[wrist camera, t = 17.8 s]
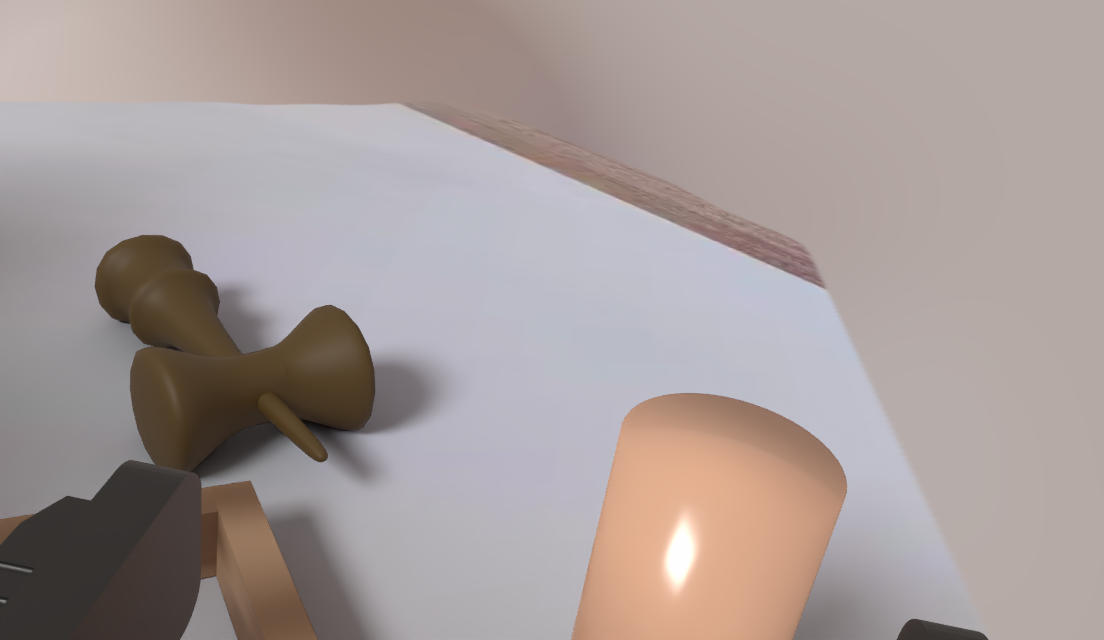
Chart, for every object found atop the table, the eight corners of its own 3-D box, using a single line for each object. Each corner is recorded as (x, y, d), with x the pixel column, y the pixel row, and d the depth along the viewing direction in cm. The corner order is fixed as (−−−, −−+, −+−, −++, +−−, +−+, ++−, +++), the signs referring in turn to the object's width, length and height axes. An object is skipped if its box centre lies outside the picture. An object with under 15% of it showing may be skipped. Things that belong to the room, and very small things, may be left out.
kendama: (227, 307, 57) (419, 484, 44) (49, 342, 51) (210, 558, 38) (226, 211, 54) (429, 368, 41) (38, 234, 48) (208, 428, 35)
